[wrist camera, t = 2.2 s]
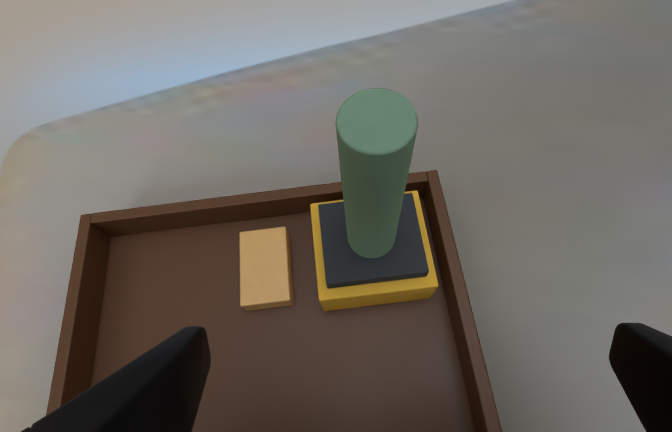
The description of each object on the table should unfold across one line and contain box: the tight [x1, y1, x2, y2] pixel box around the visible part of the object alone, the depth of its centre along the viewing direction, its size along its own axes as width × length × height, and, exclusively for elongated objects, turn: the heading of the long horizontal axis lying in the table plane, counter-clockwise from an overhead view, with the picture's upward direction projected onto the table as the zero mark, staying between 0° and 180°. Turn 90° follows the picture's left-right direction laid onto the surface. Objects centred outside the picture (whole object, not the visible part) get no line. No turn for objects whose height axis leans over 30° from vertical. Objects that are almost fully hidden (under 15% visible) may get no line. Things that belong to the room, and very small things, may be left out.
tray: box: [46, 170, 502, 432], centre depth 20 cm, size 19×13×3 cm
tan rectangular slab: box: [240, 227, 294, 311], centre depth 21 cm, size 4×2×1 cm, turn 6°
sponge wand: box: [310, 88, 438, 311], centre depth 16 cm, size 5×6×12 cm
